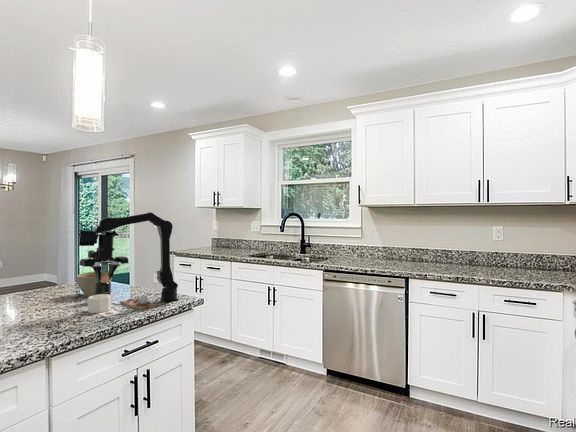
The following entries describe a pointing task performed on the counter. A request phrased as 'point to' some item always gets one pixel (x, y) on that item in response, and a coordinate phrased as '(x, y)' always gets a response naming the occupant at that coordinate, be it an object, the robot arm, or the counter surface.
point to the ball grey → (143, 300)
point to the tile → (109, 313)
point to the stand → (137, 304)
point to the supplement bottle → (103, 288)
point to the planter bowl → (88, 282)
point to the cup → (99, 303)
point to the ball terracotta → (104, 278)
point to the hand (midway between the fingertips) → (104, 280)
